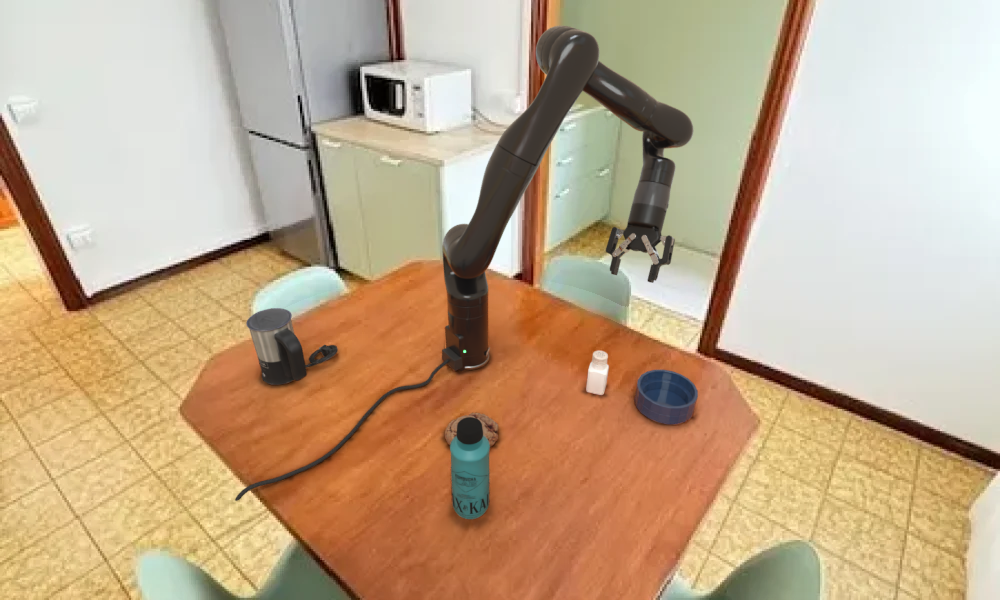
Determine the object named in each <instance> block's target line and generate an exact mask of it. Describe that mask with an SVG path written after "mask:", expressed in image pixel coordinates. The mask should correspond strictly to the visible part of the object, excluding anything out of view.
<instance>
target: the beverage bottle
mask: <svg viewBox="0 0 1000 600" xmlns="http://www.w3.org/2000/svg"><path fill="white" fill-rule="evenodd" d="M490 449H491V447H490V444H489V441H488V439H487V438H486V437H485V436H484V435H483V428H482V423H481V422H480V420H478V419H477V418H474V417H467V418H463V419H462V420H460V421H459V422H458V425H457V432H456V436H455V437H454V438H453V440H452V441H451V444H450V445H449V451H450V475H449V476H450V485H451V486H450V489H451V490H450V493H451V494H450V495H451V498H450V499H451V503H452V504H451V505H452V506H451V507H452V509H453V510H454V513H456V514H457V515H458V516H459V517H460V518H461V519H465V520H476V519H478V518H480V517H482V516H483V515H484V514H486V512H487V511H488V509H489V506H490V504H491V503H490V501H491V498H490V497H491V489H490V485H491V479H490V471H491V469H490Z"/></svg>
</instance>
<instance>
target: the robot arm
mask: <svg viewBox="0 0 1000 600" xmlns="http://www.w3.org/2000/svg"><path fill="white" fill-rule="evenodd" d="M535 59H536V62H537V65H538V67H539V69H540V70H541V71H542V72H543V73H544V74H545V78H544V80H543V83H542V85H541V86H540V89H539V91H538V93H537V95H536V96H535V98H534V99H533V100H532V102H531V103H530V105H529V106H528V107H527V108H526V109H525V110H524V111H523V112H522V113H521V114H520V115H519V116H518V117H517V118H516V119H515V120H513V122H512V123H511V124H510V125H509V126H508V127H507V128H506V129H505V130H504V131H503V133H502V134H501V136H500V137H499V139H498V141H497V143H496V145H495V147H494V149H493V151H492V153H491V155H490V157H489V159H488V161H487V164H486V166H485V170H484V173H483V177H482V180H481V185H480V189H479V194H478V195H479V196H478V200H477V204H476V207H475V210H474V212H473V215H472V216H471V218H470V221H469V223H459V224H456V225H454V226H452V227H451V228H449V230H447V232H446V233H445V235H444V237H443V240H442V246H441V249H442V250H441V252H442V264H443V265H442V266H443V279H444V286H445V289H446V303H447V304H446V306H447V307H446V308H447V325H445V326H444V337H445V348H442V349H441V360H442V361H443V362H441V363H440V364H439V365H438V366H436V367H435V368H434V370H433V371H432V372H431V374H430V376H429V377H428V379H426V380H425V381H423V382H421V383H417V384H410V385H401V386H397V387H395V388H393V389H391V390H389V391H387V392H385V393H384V394H383V395H382V396H381V397H380V398H378V399H377V400H376V402H375V403H374V404H373V405H372V406H371V407H369V409H368V410H367V411H366V412H365V413H364V414H363V416H361V418H360V419H359V421H358V422H357V423H356V425H355V426H354V427H353V428H352V429H351V430H350V431H349V433H348V434H346V435H345V436H344V437H343V439H341V441H339V442H338V443H337V444H336V446H334V447H333V448H332V449H331V450H330V451H328V452H327V453H325V454H323V455H322V456H320V457H319V458H318V459H316V460H315V461H312V462H310V463H308V464H306V465H304V466H302V467H299V468H297V469H294V470H291V471H289V472H287V473H285V474H282V475H280V476H276V477H273V478H269V479H266V480H261V481H257V482H255V483H252V484H250V485H247V486H246V487H245V488H244V489H242V490H241V491H240V492H239V493H238V494H237V495H236V497H235V498H234V501H236V502H238V501H240V500H241V499H242V498H243V497H244V495H245V494H247V493H248V492H250V491H252V490H253V489H255V488H256V489H257V488H258V487H262V486H267V485H270V484H274V483H277V482H280V481H284V480H286V479H288V478H290V477H293V476H295V475H298V474H301V473H302V472H305V471H307V470H310V469H312V468H313V467H315V466H317V465H319V464H320V463H322V462H324V461H325V460H327V459H329V457H331V456H332V455H334V454H335V453H336V452H337V451H338V450H339V449H340V448H341V447H342V446H344V444H346V442H347V441H348V440H349V439H350V438H352V436H353V435H355V433H356V432H357V430H358V429H359V428H360V427H361V426H362V425H363V423H364V422H365V421H366V420H367V418H368V417H369V415H371V413H372V412H373V411H375V409H377V408H378V406H379V405H380V404H381V403H382V402H383V401H384V400H385V399H386V398H387V397H389V396H391V395H392V394H394V393H396V392H400V391H404V390H413V389H419V388H422V387H425V386H426V385H428V384H430V383H431V381H432V380H433V378H434V376H435V375H436V374H437V373H438V372H439V371H440V370H441V369H442V368H443V367H445V366H446V365H447V366H449V368H450V369H452V370H453V371H454V372H456V371H459V372H464V371H474V370H479V369H481V368H483V367H485V366H486V365H487V364H488V362H489V361H490V349H491V346H490V342H489V341H490V340H489V338H490V337H489V336H490V334H489V333H490V332H489V326H490V324H489V320H490V319H489V284H488V279H487V275H486V271H487V270H488V268H489V267H490V265H491V263H492V261H493V259H494V256H495V254H496V251H497V249H498V246H499V244H500V241H501V239H502V236H503V234H504V232H505V230H506V227H507V225H508V224H509V222H510V220H511V218H512V216H513V214H514V213H515V211H516V209H517V207H518V205H519V203H520V201H521V199H522V198H523V196H524V194H525V192H526V190H527V188H528V187H529V185H530V184H531V181H532V180H533V179H534V177H535V175H536V173H537V171H538V170H539V167H540V165H541V163H542V161H543V159H544V157H545V155H546V153H547V151H548V149H549V147H551V146H550V145H551V144H552V142H553V140H554V138H555V137H556V135H557V133H558V131H559V129H560V127H561V125H562V124H563V122H564V120H565V119H566V117H567V116H568V114H569V112H570V110H571V109H572V108H573V106H574V104H575V103H576V101H577V100H578V98H579V97H580V95H582V93H584V94H587V95H588V96H589V97H590V98H592V99H593V100H595V102H597V103H599V104H600V105H601V106H602V107H604V108H605V109H606V110H608V111H609V112H610V113H612V114H613V115H614V116H616V117H617V118H618V119H619V120H621V121H622V122H624V123H625V124H626V125H628V126H629V127H631V128H632V129H634V130H635V131H637V132H642V135H641V136H642V137H641V140H642V141H641V142H642V143H641V144H642V145H641V147H642V167H641V171H640V175H639V179H638V183H637V186H636V189H635V191H634V195H633V198H632V203H631V206H630V211H629V215H628V219H627V224H626V227H625V228H624V229H621V228H618V227H616V226H613V227H612V228H611V231H610V234H609V237H608V240H607V243H606V247H605V253H607V254H609V255H610V256H611V261H610V265H609V271H610V274H611V275H613V276H618V274H619V270H620V265H621V261H622V259H621V258H622V257H623V256H624V255H625V254H627V253H628V252H630V251H633V252H641V253H644V254H648V256H649V257H650V259H651V261H652V264H651V265H650V268H649V273H648V276H647V282H648V283H653V284H654V282H656V281H657V279H658V277H659V273H660V268H661V267H662V266H669V265H670V264H671V263H672V259H673V258H672V257H673V253H674V252H673V251H674V247H675V243H676V238H674V236H672V235H670V234H669V235H662V230H663V227H664V225H665V224H664V223H665V219H666V215H667V211H668V209H669V205H670V204H669V203H670V198H671V189H672V186H673V182H674V178H675V174H676V168H677V165H676V163H675V161H674V160H673V159H671V158H668V157H665V149H678V148H682V147H684V146H687V144H689V142H690V141H691V140H692V138H693V136H694V124H693V122H692V119H691V118H690V117H689V116H688V115H687V114H686V112H684V111H682V110H680V109H679V108H677V107H674V106H671V105H669V104H667V103H664V102H661V101H659V100H657V99H656V98H654V97H653V95H651V94H650V93H648V92H647V91H646V90H644V89H643V88H642V87H641V86H639V85H638V84H636V83H635V82H633V81H632V80H631V79H628V78H627V77H625V76H623V75H621V74H620V73H618V72H616V71H615V70H614V69H611V68H610V67H608V66H607V65H605V64H604V63H603V62H601V61H600V47H599V42H598V41H597V39H596V37H595V36H594V35H593V34H591V33H589V32H587V31H584V30H582V29H579V28H576V27H572V26H569V25H554V26H551V27H549V28H548V29H546V30H545V31H543V33H542V34H541V35H540V37H539V38H538V40H537V42H536V46H535ZM622 236H623V237H624V241H622V242H621V244H619V243H618V242H619V240H620V239H621V238H622ZM660 243H662V244H661V245H662V246H663V251H662V252H663V253H662V257H660V254H659V251H658V250H657V246H658V245H659V244H660ZM618 244H619V246H618ZM617 246H618V247H617Z"/></svg>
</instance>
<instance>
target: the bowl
mask: <svg viewBox="0 0 1000 600" xmlns="http://www.w3.org/2000/svg"><path fill="white" fill-rule="evenodd" d="M698 399H699V391H698V388H697V386H696V385H695V384H694V382H693V381H691V379H690V378H688V377H687V376H685V375H683V374H681V373H679V372H676V371H673V370H668V369H652V370H648V371H646V372H644V373H642V374H640V376H639V377H638V378H637V381H636V387H635V393H634V399H633V400H634V401H633V402H634V404H635V407H636V409H637V410H638V411H639V412H640V414H642V416H643V415H644V417H646V418H647V419H649V420H651V421H654V422H656V423H659V424H664V425H679V424H682V423H683V424H684V423H686V422H688V421H689V420H690V419H691V418H692V417H693V415H694V413H695V409H696V406H697V402H698Z"/></svg>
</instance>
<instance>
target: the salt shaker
mask: <svg viewBox="0 0 1000 600" xmlns="http://www.w3.org/2000/svg"><path fill="white" fill-rule="evenodd" d="M608 359H609V355H608V353H607V352H606V351H604V350H598V349H597V350H595V351H593V352H592V357H591V361H590V363H589V365H588V369H587V377H586V386H585V391H586V392H587V393H589V394H594V395H597V396H598V395H599V396H604V394H605V393H606V392H605V391H606V388H607V385H608V377H609V370H610V365H609V364H608Z"/></svg>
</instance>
